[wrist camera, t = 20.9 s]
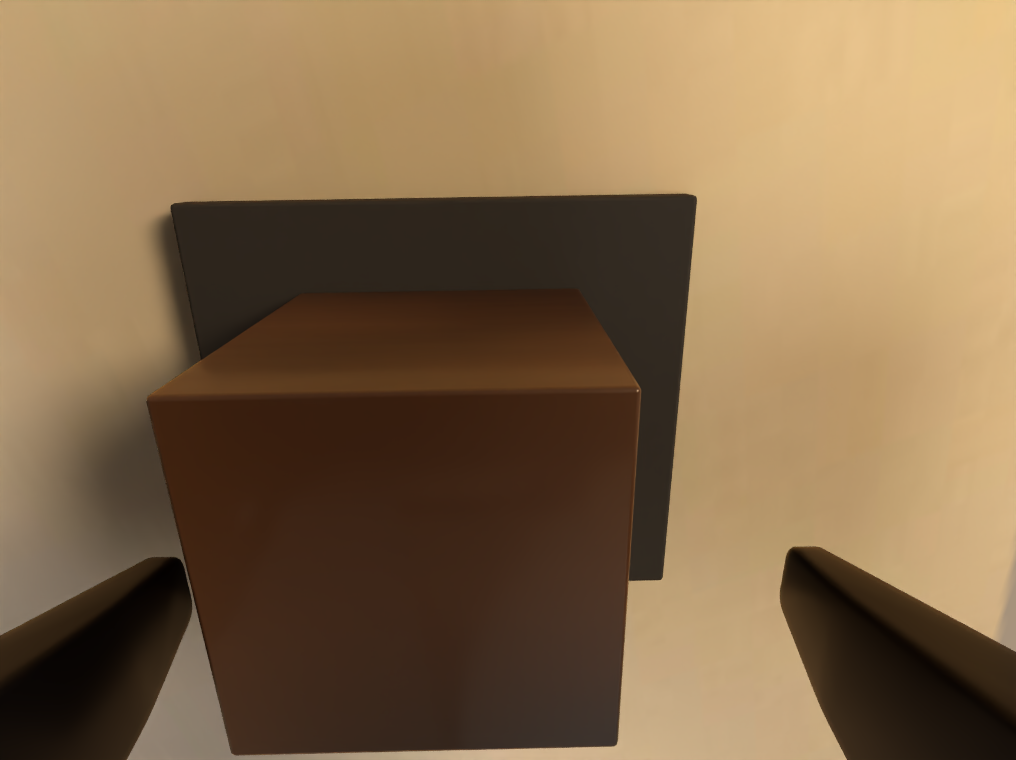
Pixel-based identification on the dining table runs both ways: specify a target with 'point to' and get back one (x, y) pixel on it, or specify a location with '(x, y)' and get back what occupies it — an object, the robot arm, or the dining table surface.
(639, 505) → the dark mat
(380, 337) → the walnut block
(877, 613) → the robot arm
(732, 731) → the dining table surface
